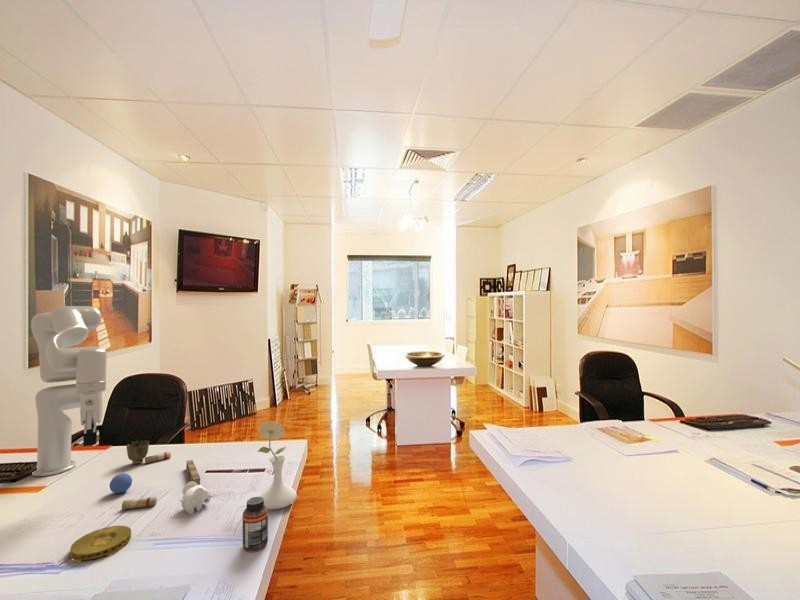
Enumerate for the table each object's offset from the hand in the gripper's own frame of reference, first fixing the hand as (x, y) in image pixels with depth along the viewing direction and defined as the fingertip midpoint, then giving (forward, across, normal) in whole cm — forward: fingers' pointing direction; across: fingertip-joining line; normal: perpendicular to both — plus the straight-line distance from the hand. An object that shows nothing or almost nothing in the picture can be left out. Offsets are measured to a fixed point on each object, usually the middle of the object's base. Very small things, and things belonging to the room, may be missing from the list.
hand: (90, 444), depth 120 cm
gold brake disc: (+18, -34, -5) cm, 39 cm away
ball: (+14, -1, -8) cm, 16 cm away
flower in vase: (+17, -39, -47) cm, 64 cm away
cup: (+17, +26, -13) cm, 34 cm away
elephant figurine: (+17, -27, -27) cm, 42 cm away
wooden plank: (+17, -2, -29) cm, 34 cm away
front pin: (+16, -15, -9) cm, 23 cm away
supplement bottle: (+17, -57, -36) cm, 70 cm away
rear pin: (+16, +24, -16) cm, 33 cm away
